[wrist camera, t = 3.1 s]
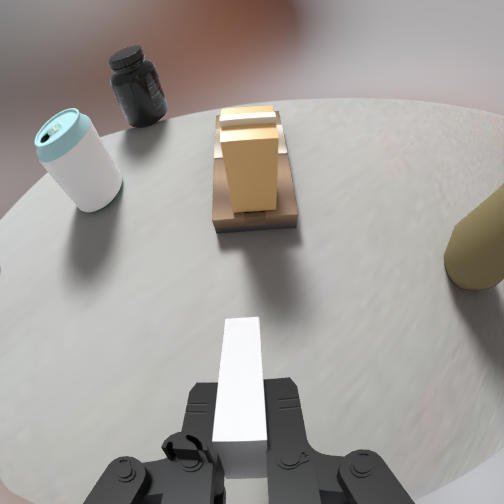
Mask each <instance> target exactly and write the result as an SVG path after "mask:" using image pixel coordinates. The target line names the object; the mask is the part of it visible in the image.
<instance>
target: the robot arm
mask: <svg viewBox="0 0 504 504" xmlns="http://www.w3.org/2000/svg"><path fill="white" fill-rule="evenodd" d="M161 448H162V449H163V451H164V453H165V454H166V456H167V458H165V459H162V460H158V461H152V462H145V463H141V462H140V461H139V460H137V459H136V458H133V457H128V456H125V457H119V458H117V459H115V460H113V461H112V462H111V463H110V464H109V465H108V467H107V468H106V470H105V471H104V473H103V474H102V476H101V477H100V479H99V480H98V482H97V483H96V485H95V486H94V488H93V489H92V491H91V492H90V494H89V495H88V497H87V498H86V500H85V501H84V503H83V504H226V491H225V487H224V475H225V477H226V479H241V478H266V477H268V496H269V504H415V503H414V502H413V500H412V499H411V498H410V496H409V495H408V493H407V492H406V491H405V489H404V488H403V487H402V485H401V484H400V483H399V481H398V480H397V478H396V477H395V476H394V474H393V473H392V471H391V470H390V469H389V467H388V466H387V465H386V463H385V462H384V460H383V459H382V458H381V457H380V456H379V455H378V454H377V453H376V452H373V451H370V450H357V451H353V452H351V453H349V454H348V455H346V456H345V457H342V456H331V455H325V454H321V453H319V452H317V451H315V450H314V449H313V448H312V447H311V446H310V445H309V443H308V440H307V437H306V431H305V426H304V420H303V415H302V410H301V404H300V399H299V394H298V389H297V386H296V384H295V383H294V382H293V381H292V380H291V378H290V377H288V378H278V379H265V380H263V365H262V351H261V338H260V324H259V317H249V318H233V319H226V321H225V329H224V337H223V346H222V354H221V363H220V372H219V381H218V383H196V384H195V386H194V387H193V388H192V389H191V391H190V392H189V397H188V402H187V407H186V413H185V416H184V421H183V426H182V431H181V432H178V433H175V434H173V435H170V436H169V437H168V438H167V439H166V440H165V441H164V443H163V445H162V447H161Z"/></svg>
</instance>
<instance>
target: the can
mask: <svg viewBox="0 0 504 504" xmlns="http://www.w3.org/2000/svg"><path fill="white" fill-rule="evenodd" d="M35 146H36V147H37V157H38V159H39V161H40V162H41V164H42V165H43V166H44V167H45V168H46V170H47V171H48V172H49V174H50V175H51V176H52V177H53V179H54V180H55V181H56V182H57V183H58V185H59V186H60V187H61V188H62V189H63V191H64V192H65V193H66V194H67V195H68V197H69V198H70V199H71V200H72V201H73V202H74V203H75V205H76V206H77V207H78V208H79V209H80V210H81V211H84V212H94V211H97V210H99V209H101V208H103V207H105V206H106V205H107V204H109V203H110V202H111V201H112V200H113V199H114V197H115V196H116V195H117V193H118V191H119V190H120V187H121V184H122V176H121V173H120V172H119V170H118V168H117V167H116V165H115V163H114V162H113V160H112V158H111V156H110V155H109V153H108V151H107V149H106V148H105V146H104V144H103V142H102V140H101V139H100V137H99V135H98V133H97V131H96V130H95V128H94V126H93V124H92V122H91V120H90V119H89V117H88V116H86V115H84V114H81V113H79V111H78V110H77V109H75V108H71V109H67V110H64V111H62V112H60V113H58V114H57V115H55V116H54V117H52V118H51V119H50V120H49V121H48V122H46V123H45V124H44V126H43V127H42V128H41V129H40V131H39V132H38V134H37V136H36V138H35Z"/></svg>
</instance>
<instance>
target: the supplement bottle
mask: <svg viewBox="0 0 504 504" xmlns="http://www.w3.org/2000/svg"><path fill="white" fill-rule="evenodd" d="M144 58H145V55H144V53H143V50H142V47H141V46H139V45H137V46H136V45H135V46H131V47H127V48H125V49H123V50H120V51H118V52H117V53H115V54H114V55H112V56H111V57H110V59H109V64H110V66H111V70H112V71H113V72H114V73H113V75H112V77H111V79H110V84H111V87H112V89H113V92H114V94H115V96H116V98H117V100H118V103H119V105H120V107H121V109H122V111H123V113H124V116H125V118H126V120H127V122H128V123H129V125H131V126H133V127H146V126H149V125H151V124H153V123H155V122H157V121H158V120H160V119H161V118H162V117H163V116H164V115H165V113H166V112H167V109H168V105H167V101H166V98H165V95H164V92H163V89H162V86H161V83H160V80H159V76H158V73H157V70H156V67H155V65H154V63H153V62H152V61H150V60H147V59H144Z"/></svg>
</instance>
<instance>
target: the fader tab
mask: <svg viewBox="0 0 504 504" xmlns="http://www.w3.org/2000/svg"><path fill="white" fill-rule="evenodd" d="M220 126H221V131H220V144H221V150H222V155H223V161H224V166H225V172H226V177H227V183H228V188H229V193H230V199H231V204H232V210H233V213H236V212H248V213H255V212H261V211H265V210H276V198H277V173H278V145H279V137H278V131H277V126H276V114H275V112H274V110H273V105H272V106H253V107H239V108H227V109H221V116H220Z"/></svg>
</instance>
